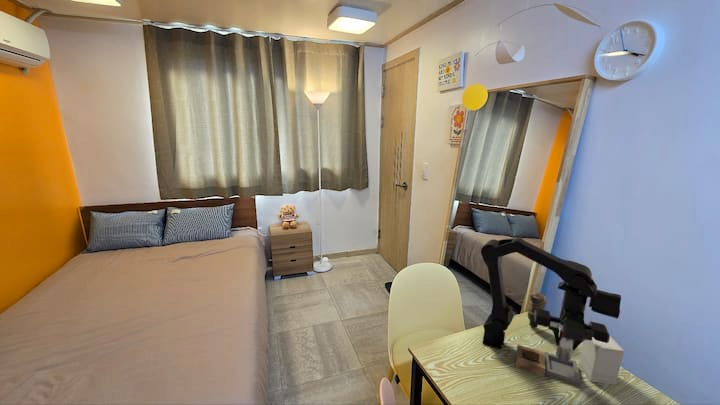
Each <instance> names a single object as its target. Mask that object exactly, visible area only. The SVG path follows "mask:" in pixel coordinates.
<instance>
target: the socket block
mask: <svg viewBox="0 0 720 405" xmlns="http://www.w3.org/2000/svg"><path fill="white" fill-rule="evenodd" d="M516 346H517V347H516V354H515V355H516V356H515V357H516V361H515V364H516V369H517V368H518V369H520V370H523V371H526V372H528V373H532V374H536V375H537V376H541V377H545V376H546V373H545V369H546V368H545V359H544V352H545V351H540V350H538V349H534V348H531V347H528V346H525V345H521V344H517V345H516ZM523 357H525V358H527V359H525V358H523ZM528 359H530V360H531V361H530V360H528ZM532 360H533V361H532ZM535 361H537V362H535Z"/></svg>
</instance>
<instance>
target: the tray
mask: <svg viewBox="0 0 720 405" xmlns="http://www.w3.org/2000/svg"><path fill="white" fill-rule="evenodd" d="M543 352H544V359H545V368H546V369H545V376H548V377H551V378H554V379H557V380H560V381H564V382H567V383H570V384H573V385H576V386H578V387H580V386H581V377H580V376H581V375H580V372H579V368H578V364H577V361H576V360H574V359H572V358H571V359H570V360H569V361H565V360H562V359H560V358H559V357H557V355H556V354H554V353H550V352H547V351H543Z"/></svg>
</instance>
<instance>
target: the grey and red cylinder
mask: <svg viewBox="0 0 720 405" xmlns="http://www.w3.org/2000/svg"><path fill="white" fill-rule="evenodd" d="M559 331H560V332H559V343H558V346H557V345H556V350H555V351H556V352H555V355H557V357H559V358H560V359H562V360H565V361H569V360H570V359H571V360H572V355H573V351H574V350H573V345H574V341H575V340H574V339H569V338H566V337H564V335H563V327H562V328H560V329H559Z"/></svg>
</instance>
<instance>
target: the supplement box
mask: <svg viewBox="0 0 720 405" xmlns="http://www.w3.org/2000/svg"><path fill="white" fill-rule="evenodd" d="M624 352H625V350H624V349H623V348H622V347H621V346H620V345H619V343H617V342H616V341H615V340H614V338H612V336H611V335H610V339H609V342H608V343H605V342H601V341H597V340H595V339H594V338H592V340H591V341H590V340H584V341H583V342H582V346H581V351H580V356H579V360H578V366H579V367H580V369H581V370H582V372H583V373H584V374H585V376H586V377H587V379H588V380H589V381H590V382H593V383H601V384H605V385H606V384H607V385H617V380H618V376H619V373H620V368H621V365H622V360H623V357H624Z"/></svg>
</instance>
